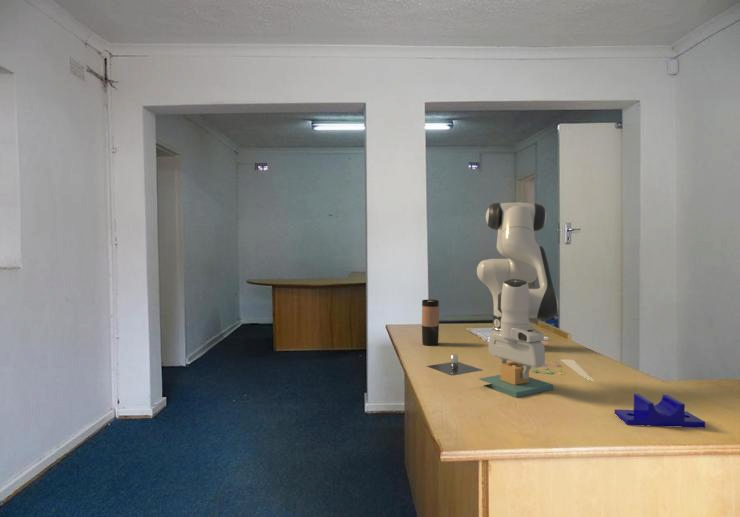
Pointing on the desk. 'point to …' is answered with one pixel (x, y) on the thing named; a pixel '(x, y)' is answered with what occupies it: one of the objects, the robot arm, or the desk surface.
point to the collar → (513, 373)
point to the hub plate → (517, 386)
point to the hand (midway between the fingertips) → (514, 375)
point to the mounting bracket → (659, 413)
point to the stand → (454, 367)
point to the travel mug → (430, 322)
